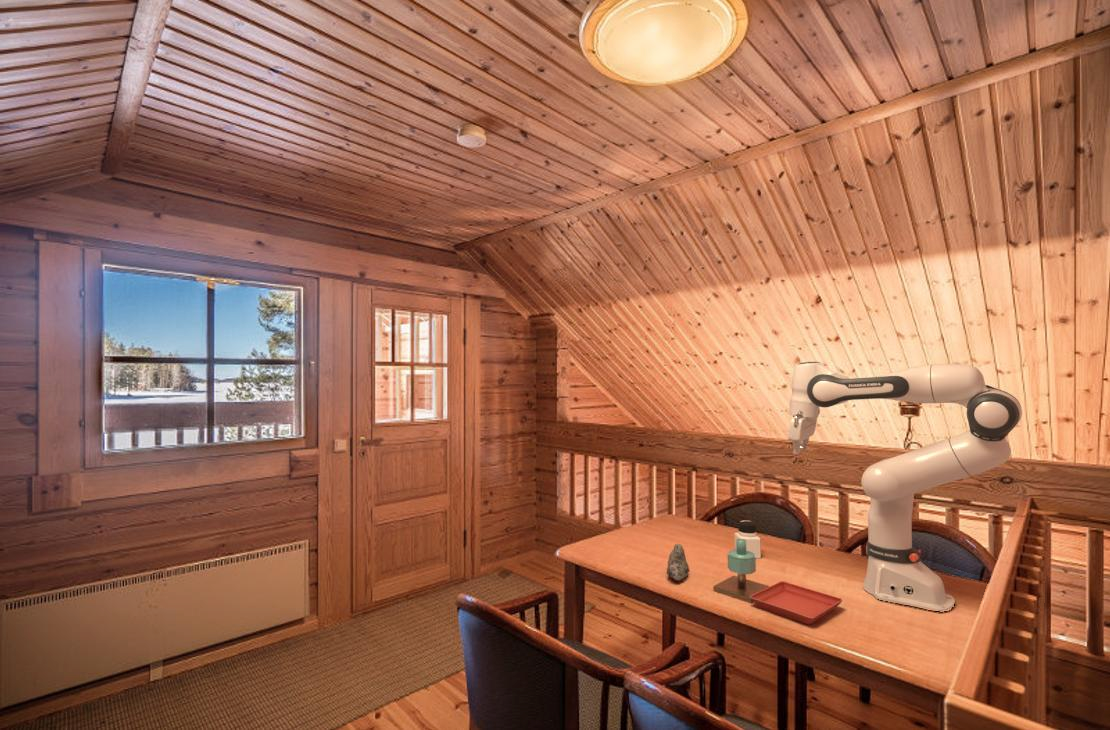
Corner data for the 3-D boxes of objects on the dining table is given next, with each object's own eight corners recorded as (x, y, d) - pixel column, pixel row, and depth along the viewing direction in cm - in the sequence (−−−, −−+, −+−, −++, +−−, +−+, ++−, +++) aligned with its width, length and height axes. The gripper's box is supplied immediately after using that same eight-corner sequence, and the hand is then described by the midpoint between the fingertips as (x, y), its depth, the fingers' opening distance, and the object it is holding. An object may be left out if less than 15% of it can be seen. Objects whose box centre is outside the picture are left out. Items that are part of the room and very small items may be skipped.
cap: (759, 569, 161) (758, 540, 161) (747, 576, 156) (746, 545, 156) (736, 563, 167) (735, 534, 167) (724, 569, 162) (723, 540, 162)
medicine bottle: (761, 558, 189) (760, 524, 189) (740, 558, 189) (740, 524, 190) (754, 552, 196) (753, 519, 196) (734, 552, 196) (734, 519, 197)
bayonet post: (770, 591, 161) (770, 556, 161) (751, 603, 153) (750, 566, 153) (733, 580, 170) (733, 546, 170) (713, 591, 162) (713, 556, 162)
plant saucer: (748, 607, 151) (748, 595, 151) (781, 591, 162) (781, 579, 162) (812, 631, 137) (812, 618, 137) (844, 611, 148) (844, 599, 148)
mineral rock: (676, 586, 166) (676, 553, 166) (649, 576, 174) (648, 545, 174) (700, 575, 174) (700, 544, 174) (673, 566, 182) (673, 537, 182)
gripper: (806, 414, 167) (802, 458, 168) (821, 409, 183) (817, 449, 184) (785, 411, 170) (781, 454, 171) (801, 406, 187) (797, 445, 188)
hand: (800, 451), depth 178 cm, fingers open, 8 cm apart
